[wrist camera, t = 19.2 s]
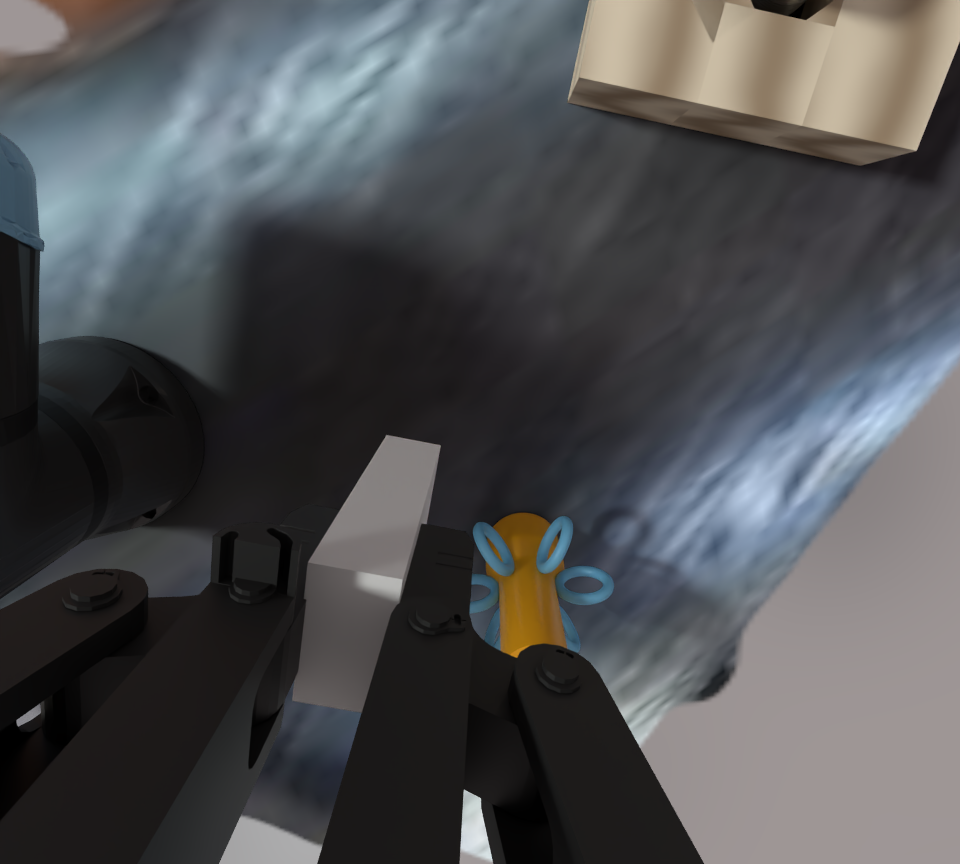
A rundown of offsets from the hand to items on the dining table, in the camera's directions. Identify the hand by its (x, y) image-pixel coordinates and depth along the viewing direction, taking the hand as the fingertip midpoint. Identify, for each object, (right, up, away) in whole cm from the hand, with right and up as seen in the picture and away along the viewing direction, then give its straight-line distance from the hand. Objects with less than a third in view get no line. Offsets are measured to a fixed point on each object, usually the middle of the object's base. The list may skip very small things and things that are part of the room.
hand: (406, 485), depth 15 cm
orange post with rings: (+6, -8, +30) cm, 32 cm away
